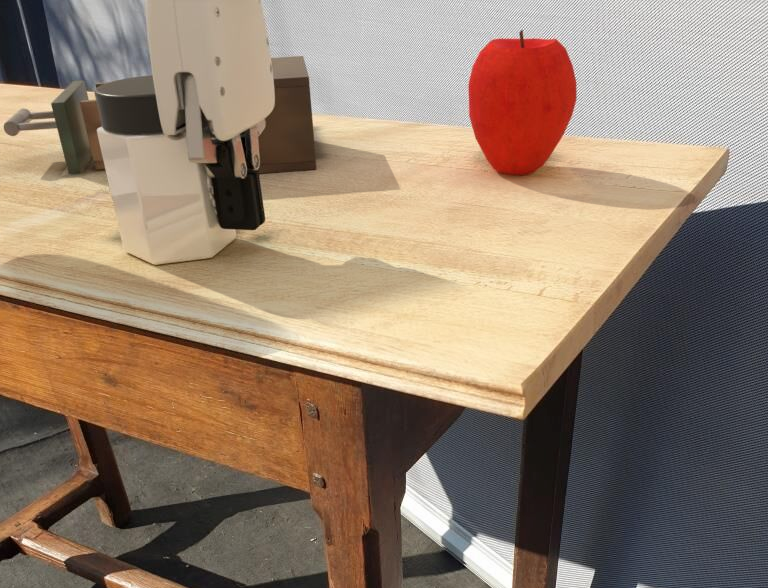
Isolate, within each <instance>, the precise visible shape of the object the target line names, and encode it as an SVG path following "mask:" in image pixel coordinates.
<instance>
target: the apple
mask: <svg viewBox="0 0 768 588" xmlns="http://www.w3.org/2000/svg"><path fill="white" fill-rule="evenodd" d="M467 88H468V116H469V119H470V123H471V127H472V131H473V134H474V138H475V140H476V142H477V144H478V146H479V147H480V149H481V152H482V153H483V155H484V157H485V159H486V161H487V162H488V163H489V165H490V166H491V168H492V169H493V170H494V171H496V172H498V173H500V174H503V175H511V176H524V175H525V176H526V175H530V174H534V173H535V171H537V170H539V169H540V168H542V167H543V166H544V165H545V163H546V162H547V161H548V160H549V159H550V158H551V156H552V154H553V152H554V150H555V149H556V148H557V146H558V144H559V143H560V141H561V139H562V138H563V137H564V135H565V132H566V130H567V128H568V127H569V124H570V121H571V119H572V117H573V115H574V114H573V113H574V110H575V107H576V103H577V99H578V98H577V93H578V92H577V91H578V90H577V79H576V73H575V70H574V65H573V63H572V61H571V58H570V55H569V53H568V51H567V48H566V47H565V46H564V45H563V44H562V43H561V42H560V41H559V40H558V39H557V38H549V39H547V38H546V39H545V38H524V29H521V30H520V31H519V38H493V39H491V40H490V41H489V42H488V43H487V44H486V45H485V46H484V47H483V48H482V49H481V50H480V51H479V53H478V55H477V56H476V59H475V61H474V63H473V65H472V67H471V72H470V76H469V80H468V87H467Z"/></svg>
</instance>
